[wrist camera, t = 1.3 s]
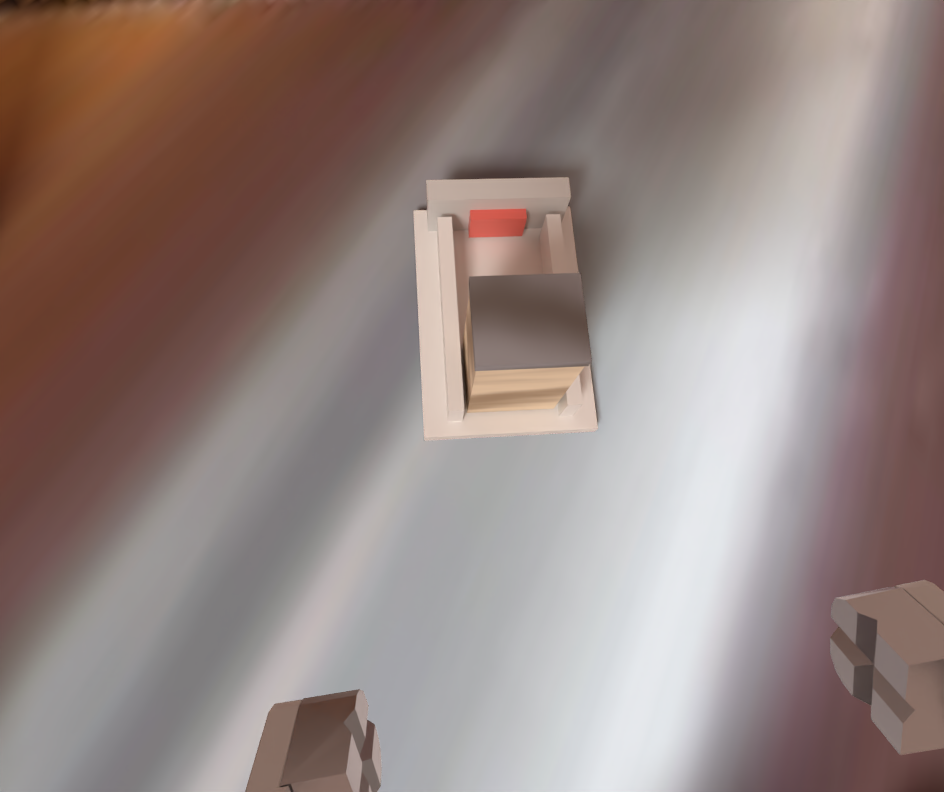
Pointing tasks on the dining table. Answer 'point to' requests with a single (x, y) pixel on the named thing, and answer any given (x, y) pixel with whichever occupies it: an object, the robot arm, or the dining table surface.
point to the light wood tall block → (523, 340)
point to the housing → (488, 254)
